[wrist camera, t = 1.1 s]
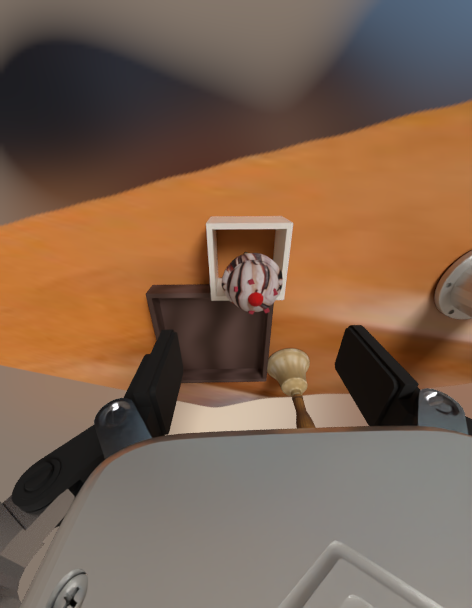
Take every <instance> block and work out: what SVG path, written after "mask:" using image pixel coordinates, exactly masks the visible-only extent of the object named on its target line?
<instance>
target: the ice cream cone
mask: <svg viewBox="0 0 472 608" xmlns="http://www.w3.org/2000/svg"><path fill="white" fill-rule="evenodd" d="M221 284H222V288H223V290H224V292H225V295H226V296H227V298H228V299H229V300H230V302H231V303H233V304H234V305H235V306H237V307H239V308H240V309H242V310H244V311H248V313H250V314H252V315H253V313H254V312H260V311H263V310H264V312H265V313H268V312H270V310H269V308H268V307H270V306H271V305H272V304H273V303H274V301H275V300H276V298H277V297H278V295H279V293H280V292H281V289H282V285H283V277H282V272H281V269H280V267H279V266H278V265H277V264H276V263H275V262H274V261H273V260H272V259H270V258H269V257H267V256H265V255H263V254H259V253H247V252H245V253H244V254H243V255H240V256H238V257H236V258H235V259H234V260H233V261H232V262H231V263H230V264H229V266H228V267H227V269H226V270H225V272H224V275H223V278H222V283H221Z"/></svg>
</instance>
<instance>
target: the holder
mask: <svg viewBox="0 0 472 608" xmlns="http://www.w3.org/2000/svg"><path fill="white" fill-rule="evenodd" d="M216 229H276V232H275V244H274V256H273V261H274V262H275V263H276V264H277V265H278V266H279V267H280V269H281V272H282V277H283V285H282V289H281V292H280V293H279V295H278V297H277V298H276V300H284V295H285V287H286V278H287V270H288V262H289V254H290V246H291V237H292V229H293V222H291V221H289V220H287V219H286V218H284V217H282V216H214V217H210V219H209V220H208V221H207V223H206V231H207V245H208V260H209V274H210V289H211V301H230V300H229V299H228V298H227V296H226V295H225V292H224V290H223V288H222V284H221V283H222V278H218V258H217V237H216Z"/></svg>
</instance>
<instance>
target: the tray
mask: <svg viewBox="0 0 472 608" xmlns="http://www.w3.org/2000/svg"><path fill="white" fill-rule="evenodd" d="M146 298H147V302H148V306H149V310H150V314H151V319H152V323H153V327H154V331H155V335H156V340H157V339H158V337H159V335H160V332H161V331H162V330H166V329H173V330H174V332H177V334H178V340H179V345H180V351H181V357H182V363H183V376H182V381H181V383H202V382H258V381H266V377H267V367H268V357H269V346H270V336H271V325H272V315H273V304H274V303H273V304H272V305H271V306H270V307H268V308H269V310H270V312H268V313H265V312H264V310H263V311H260V312H254V313H253V315H252V314H250V313H248V311H244V310H242V309H240V308H239V307H237V306H235V305H234V304H233V303H231V302H230V301H211V289H210V284H205V285H152V287H151V288H150V289H149V290H148V292H147V293H146Z"/></svg>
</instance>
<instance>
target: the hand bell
mask: <svg viewBox="0 0 472 608" xmlns="http://www.w3.org/2000/svg"><path fill="white" fill-rule="evenodd" d="M308 368H309V358H308V356H307V355H306V354H305V353H304V352H303V351H301V350H298V349H283V350H280V351H277V352H276V353H274V354H273V355H272V356H270V358H269V359H268V367H267V372H268V373H269V375H270V376H271V377H273V378H274V379H276V380H277V381H278V382H279V384H280V387H281V389H282V391H283V392H284V393H285V394H287V395H290V396H292V400H293V403H294V406H295V409H296V415H297V416H296V425H297V429H298V428H315V425H314V423H313V421H312V419H311V417H310V416H309V415H308V413H307V411H306V408H305V405H304V401H303V397H302V393H303V392H304V391H305V390H306V389H307V381H306V375H305V374H306V372H307V370H308Z"/></svg>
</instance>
